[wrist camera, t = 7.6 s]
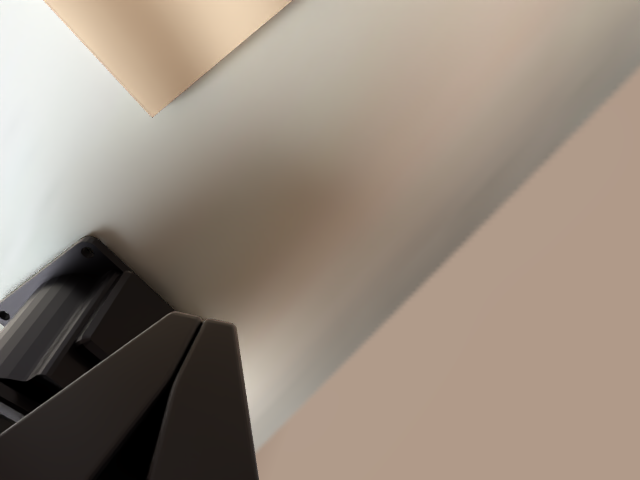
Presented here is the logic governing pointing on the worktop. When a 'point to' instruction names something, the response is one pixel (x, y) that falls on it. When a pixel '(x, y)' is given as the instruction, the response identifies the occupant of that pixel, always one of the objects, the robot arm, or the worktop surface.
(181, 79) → the beige rectangular board
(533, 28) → the worktop surface
